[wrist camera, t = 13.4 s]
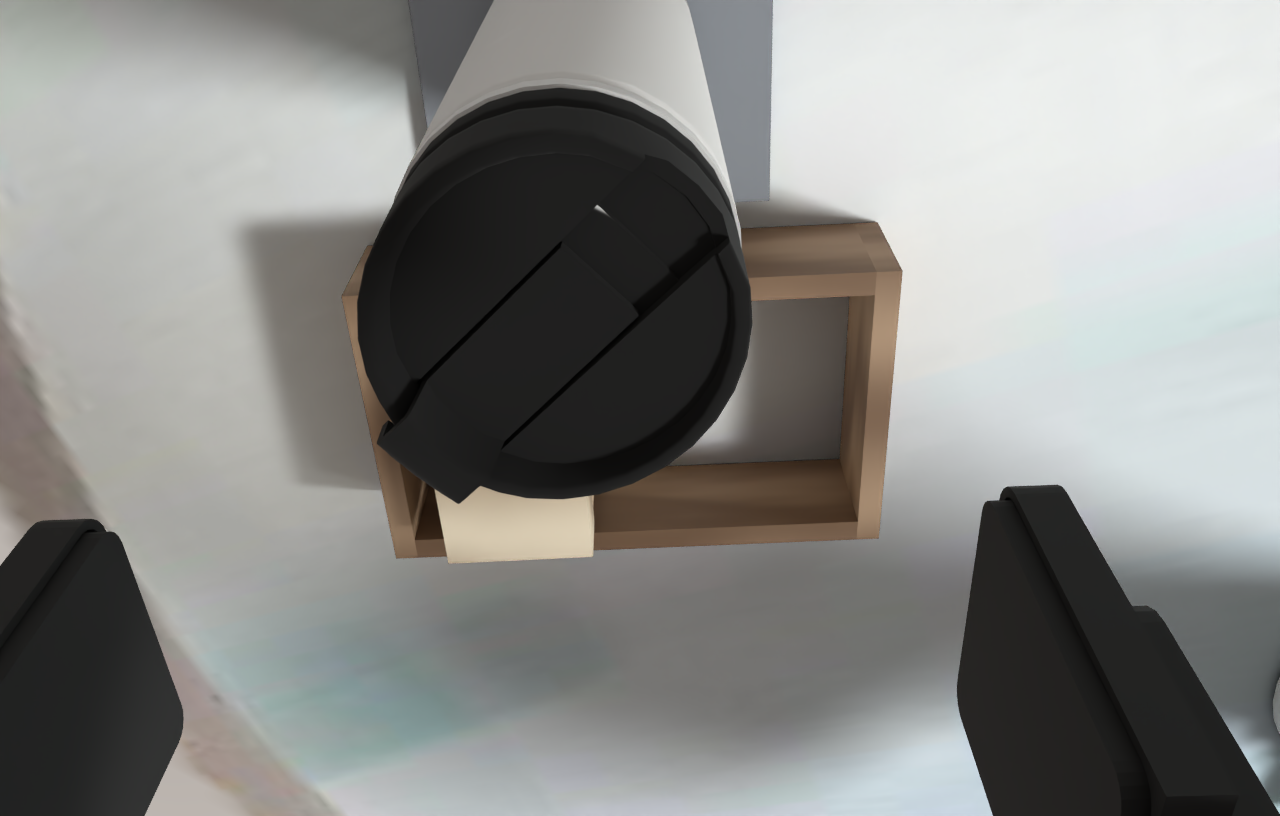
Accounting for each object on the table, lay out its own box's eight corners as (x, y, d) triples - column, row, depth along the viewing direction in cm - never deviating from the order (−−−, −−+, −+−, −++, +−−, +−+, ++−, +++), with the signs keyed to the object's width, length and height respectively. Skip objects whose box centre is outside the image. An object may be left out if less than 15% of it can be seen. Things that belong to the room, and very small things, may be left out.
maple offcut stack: (596, 458, 43) (593, 557, 37) (469, 464, 43) (448, 563, 38) (579, 265, 38) (572, 347, 33) (438, 273, 38) (409, 355, 33)
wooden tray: (858, 474, 43) (878, 538, 40) (414, 493, 43) (396, 558, 40) (877, 222, 37) (902, 270, 34) (367, 245, 38) (341, 296, 34)
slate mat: (767, 194, 37) (769, 200, 36) (443, 209, 37) (440, 215, 36) (773, -174, 31) (776, -172, 31) (389, -154, 31) (385, -153, 31)
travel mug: (440, 48, 34) (249, 365, 17) (589, -119, 31) (542, 51, 14) (587, 185, 36) (551, 587, 19) (735, 40, 34) (847, 350, 17)
